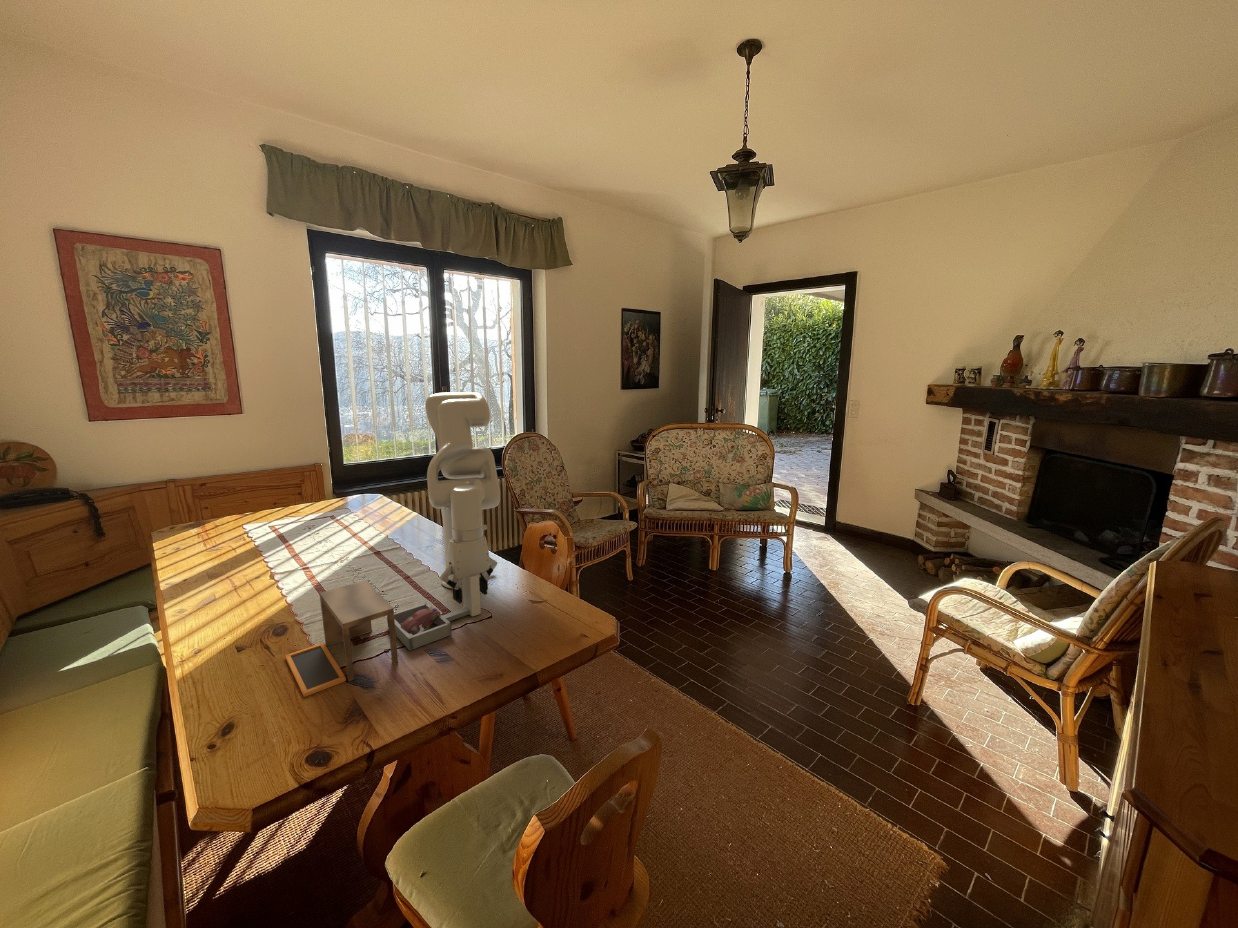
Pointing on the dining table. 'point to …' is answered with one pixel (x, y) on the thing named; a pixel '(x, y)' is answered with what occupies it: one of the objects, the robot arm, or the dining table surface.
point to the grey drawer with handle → (440, 616)
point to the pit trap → (314, 669)
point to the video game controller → (420, 620)
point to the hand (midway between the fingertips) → (471, 596)
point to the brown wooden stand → (354, 617)
